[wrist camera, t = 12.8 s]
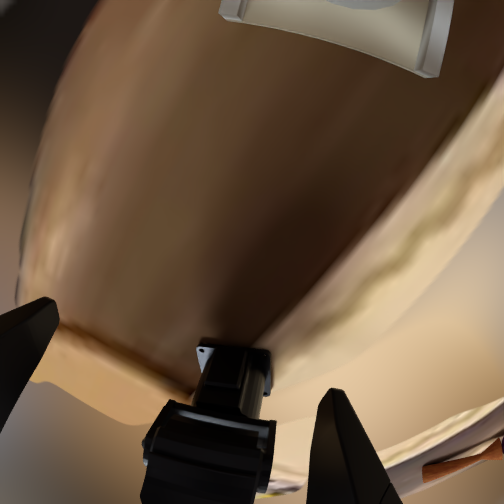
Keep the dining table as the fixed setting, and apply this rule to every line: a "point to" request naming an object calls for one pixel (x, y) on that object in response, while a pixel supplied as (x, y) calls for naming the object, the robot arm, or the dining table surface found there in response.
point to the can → (365, 3)
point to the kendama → (462, 462)
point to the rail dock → (360, 27)
